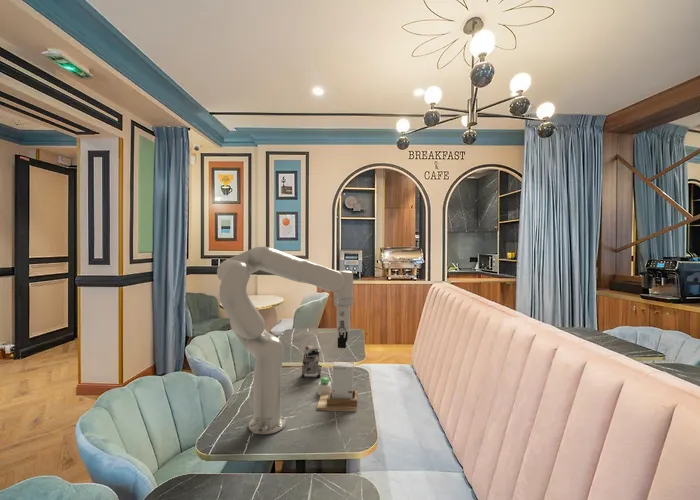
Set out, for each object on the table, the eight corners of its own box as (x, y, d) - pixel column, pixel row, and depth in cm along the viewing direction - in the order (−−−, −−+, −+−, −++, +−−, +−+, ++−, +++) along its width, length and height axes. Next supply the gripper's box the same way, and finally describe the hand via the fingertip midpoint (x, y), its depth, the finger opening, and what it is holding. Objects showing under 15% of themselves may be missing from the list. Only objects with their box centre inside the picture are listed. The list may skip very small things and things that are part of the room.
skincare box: (331, 403, 137) (331, 366, 137) (333, 397, 143) (333, 360, 143) (352, 404, 137) (352, 366, 137) (353, 397, 143) (353, 361, 143)
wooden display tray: (356, 411, 133) (356, 402, 133) (316, 410, 134) (316, 401, 134) (357, 396, 146) (357, 388, 146) (321, 395, 147) (321, 387, 147)
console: (329, 395, 147) (329, 386, 147) (318, 395, 148) (318, 385, 148) (331, 390, 152) (331, 381, 152) (319, 390, 153) (319, 381, 152)
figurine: (301, 382, 161) (301, 350, 161) (302, 373, 172) (302, 343, 172) (320, 382, 162) (321, 349, 161) (320, 373, 173) (321, 343, 173)
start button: (328, 392, 148) (328, 380, 148) (319, 392, 148) (319, 380, 148) (329, 389, 152) (329, 377, 152) (321, 389, 152) (321, 377, 152)
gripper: (351, 305, 131) (350, 351, 131) (353, 298, 148) (353, 339, 148) (331, 304, 131) (331, 350, 131) (336, 298, 148) (335, 338, 148)
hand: (342, 344), depth 140 cm, fingers open, 9 cm apart
